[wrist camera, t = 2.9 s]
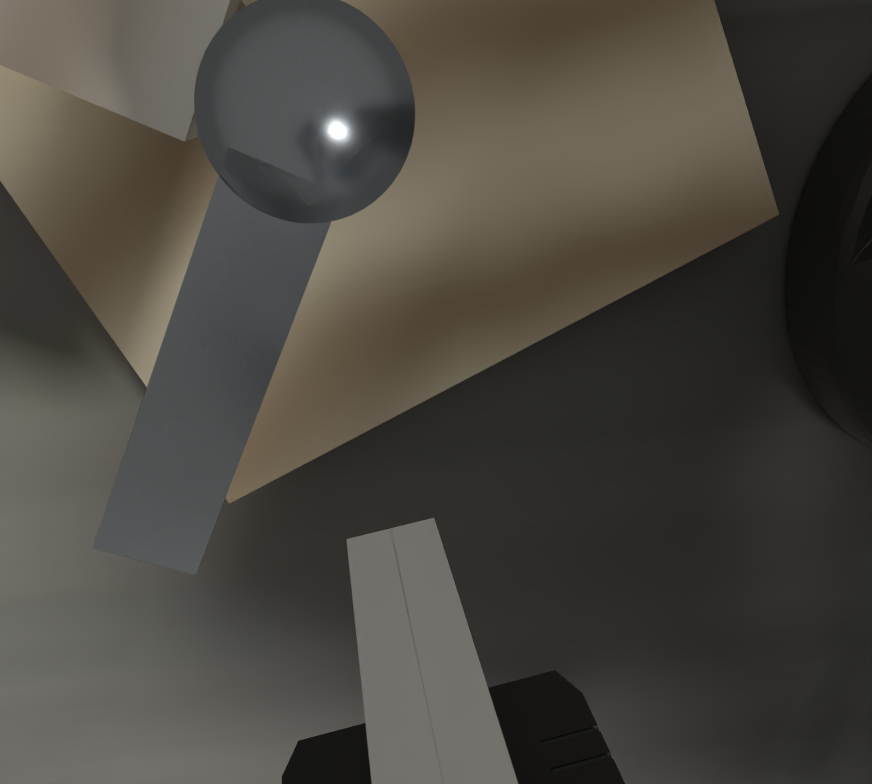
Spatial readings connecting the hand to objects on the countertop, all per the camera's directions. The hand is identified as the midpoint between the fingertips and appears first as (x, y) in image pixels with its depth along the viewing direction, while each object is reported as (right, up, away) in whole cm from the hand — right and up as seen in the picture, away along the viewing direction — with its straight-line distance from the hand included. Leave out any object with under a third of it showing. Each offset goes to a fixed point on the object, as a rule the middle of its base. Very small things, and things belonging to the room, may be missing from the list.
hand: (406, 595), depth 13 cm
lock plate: (-1, +11, +7) cm, 13 cm away
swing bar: (-3, +6, +3) cm, 7 cm away
